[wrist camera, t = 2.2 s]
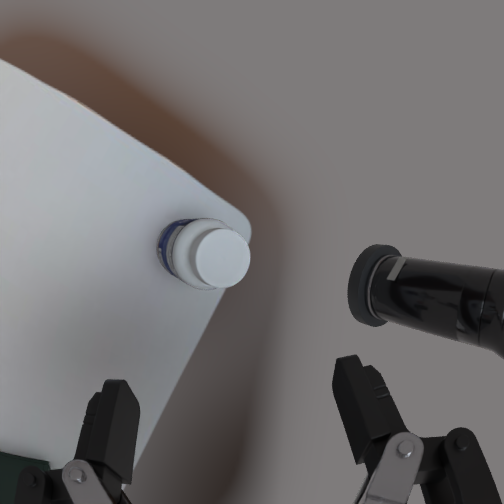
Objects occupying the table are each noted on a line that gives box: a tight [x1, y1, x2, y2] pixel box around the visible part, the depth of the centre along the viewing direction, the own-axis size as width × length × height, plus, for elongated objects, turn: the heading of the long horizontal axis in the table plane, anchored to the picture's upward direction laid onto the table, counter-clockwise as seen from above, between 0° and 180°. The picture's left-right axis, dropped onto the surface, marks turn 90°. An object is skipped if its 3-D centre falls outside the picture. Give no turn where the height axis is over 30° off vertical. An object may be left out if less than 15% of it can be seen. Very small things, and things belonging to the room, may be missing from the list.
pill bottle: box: [157, 218, 250, 290], centre depth 24 cm, size 5×5×10 cm
